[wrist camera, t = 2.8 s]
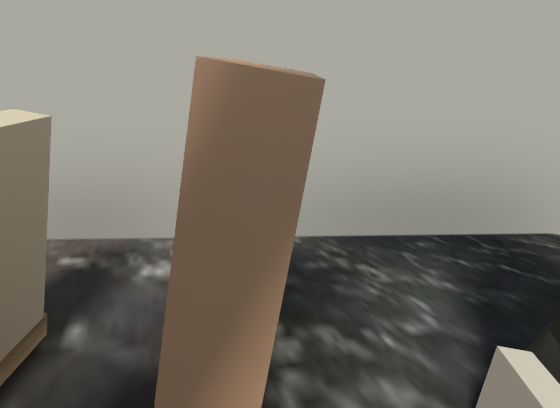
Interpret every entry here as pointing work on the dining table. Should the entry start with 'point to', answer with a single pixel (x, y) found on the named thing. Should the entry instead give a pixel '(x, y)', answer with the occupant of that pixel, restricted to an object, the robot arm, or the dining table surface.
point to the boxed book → (234, 230)
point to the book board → (23, 349)
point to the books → (22, 222)
